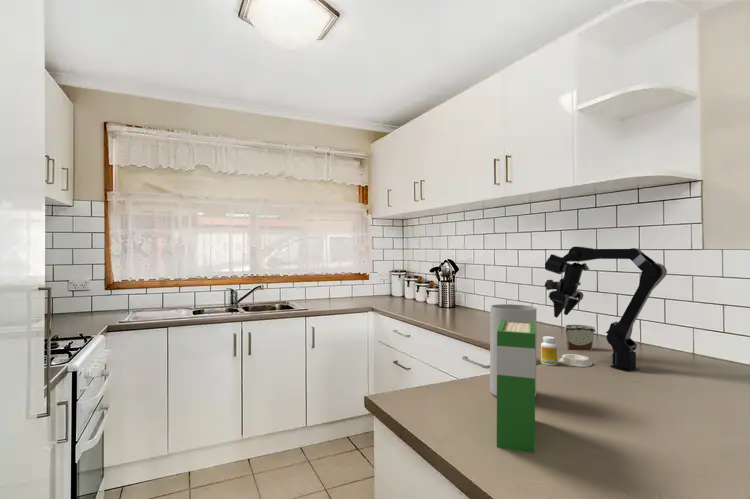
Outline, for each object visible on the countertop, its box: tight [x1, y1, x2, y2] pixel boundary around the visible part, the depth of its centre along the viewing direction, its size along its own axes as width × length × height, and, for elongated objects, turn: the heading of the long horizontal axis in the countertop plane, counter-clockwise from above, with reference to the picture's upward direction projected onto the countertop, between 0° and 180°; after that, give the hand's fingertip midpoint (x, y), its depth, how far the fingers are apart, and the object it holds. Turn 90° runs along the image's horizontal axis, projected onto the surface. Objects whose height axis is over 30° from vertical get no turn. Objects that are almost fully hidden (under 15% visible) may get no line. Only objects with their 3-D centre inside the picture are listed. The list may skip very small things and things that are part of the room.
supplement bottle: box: [540, 335, 558, 366], centre depth 152 cm, size 5×5×10 cm
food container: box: [563, 324, 597, 352], centre depth 176 cm, size 12×6×10 cm, turn 84°
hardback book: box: [496, 319, 536, 454], centre depth 93 cm, size 18×7×24 cm, turn 160°
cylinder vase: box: [489, 303, 537, 398], centre depth 118 cm, size 12×12×25 cm
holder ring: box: [558, 353, 593, 368], centre depth 153 cm, size 11×11×2 cm
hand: (560, 315), depth 162 cm, fingers open, 9 cm apart
